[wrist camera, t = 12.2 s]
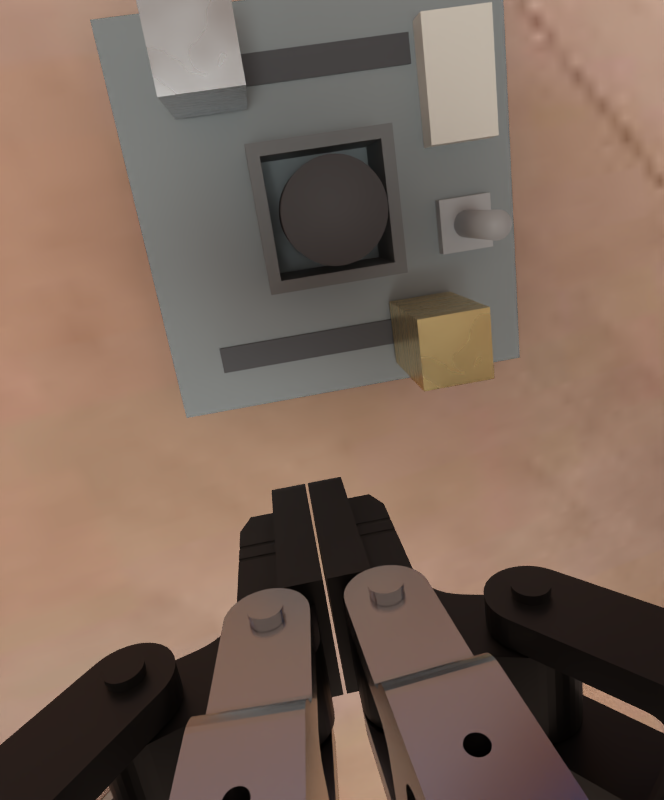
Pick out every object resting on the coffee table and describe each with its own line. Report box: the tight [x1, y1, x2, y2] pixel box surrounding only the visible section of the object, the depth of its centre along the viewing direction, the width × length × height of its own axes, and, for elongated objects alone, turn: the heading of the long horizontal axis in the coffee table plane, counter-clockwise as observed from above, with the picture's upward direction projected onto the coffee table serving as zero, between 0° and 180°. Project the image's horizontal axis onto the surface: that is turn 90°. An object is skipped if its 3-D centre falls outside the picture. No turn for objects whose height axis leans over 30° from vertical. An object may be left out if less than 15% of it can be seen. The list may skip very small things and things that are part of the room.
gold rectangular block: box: [389, 291, 494, 391], centre depth 26 cm, size 3×3×5 cm
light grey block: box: [136, 0, 247, 120], centre depth 22 cm, size 3×3×5 cm
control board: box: [90, 0, 520, 418], centre depth 25 cm, size 17×17×6 cm
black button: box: [279, 153, 388, 266], centre depth 23 cm, size 4×4×3 cm
